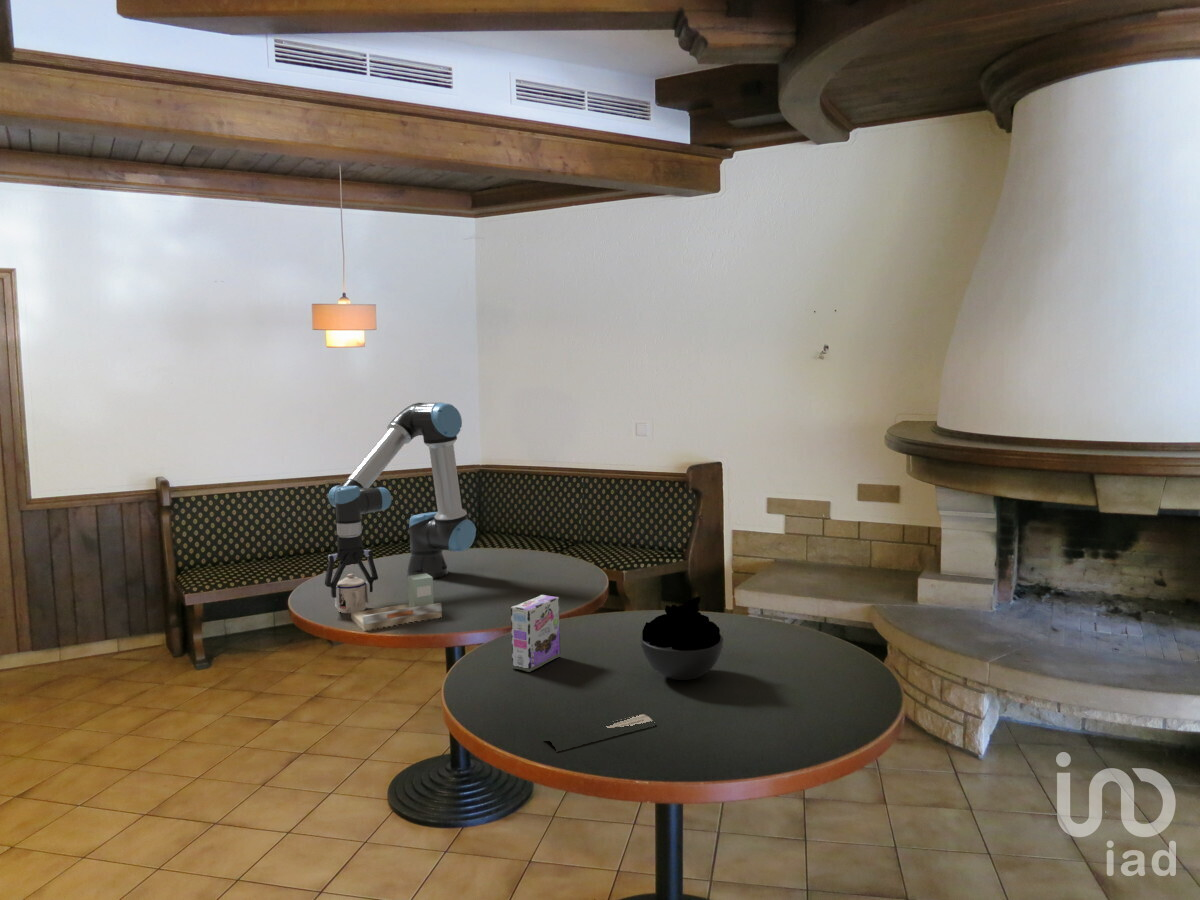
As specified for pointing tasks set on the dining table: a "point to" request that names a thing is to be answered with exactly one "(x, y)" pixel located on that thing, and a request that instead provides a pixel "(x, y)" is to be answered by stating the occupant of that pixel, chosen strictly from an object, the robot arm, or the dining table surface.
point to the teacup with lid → (351, 594)
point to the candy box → (535, 631)
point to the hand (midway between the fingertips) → (352, 604)
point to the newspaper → (631, 721)
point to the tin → (420, 590)
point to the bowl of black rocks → (682, 642)
